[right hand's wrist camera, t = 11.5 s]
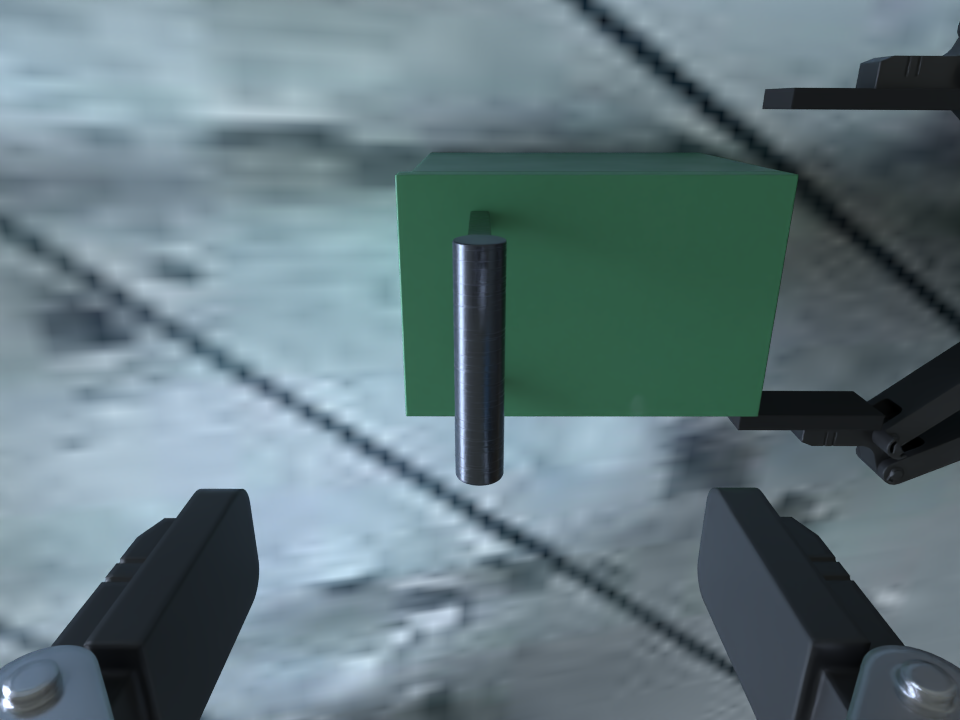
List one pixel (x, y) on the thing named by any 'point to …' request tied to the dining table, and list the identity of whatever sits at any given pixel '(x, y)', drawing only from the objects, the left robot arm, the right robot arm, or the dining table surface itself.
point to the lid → (585, 296)
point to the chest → (582, 163)
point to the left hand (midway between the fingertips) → (749, 267)
